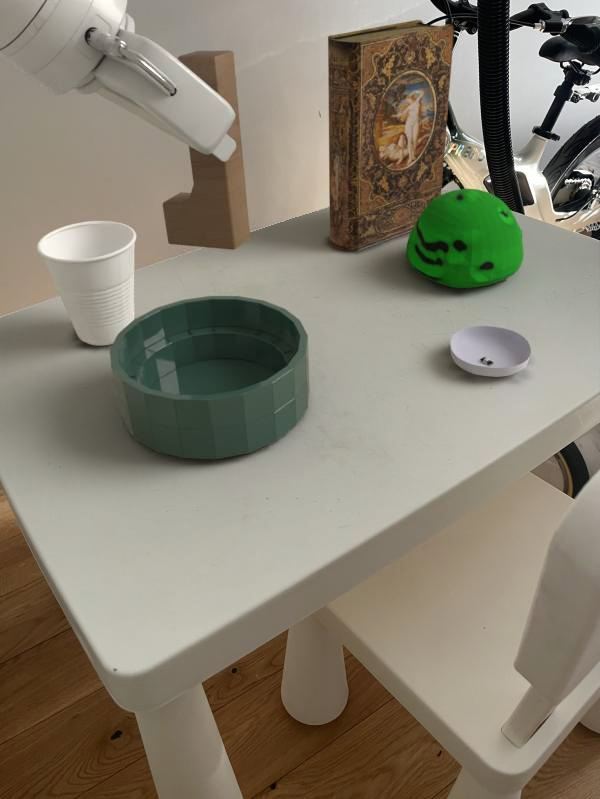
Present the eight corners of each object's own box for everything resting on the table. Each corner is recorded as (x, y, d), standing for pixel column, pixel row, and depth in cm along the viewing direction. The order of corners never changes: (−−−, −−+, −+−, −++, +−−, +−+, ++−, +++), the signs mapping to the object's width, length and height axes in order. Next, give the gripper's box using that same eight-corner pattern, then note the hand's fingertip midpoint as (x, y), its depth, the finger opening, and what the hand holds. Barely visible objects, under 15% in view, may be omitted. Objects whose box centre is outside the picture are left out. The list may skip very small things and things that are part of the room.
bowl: (97, 391, 72) (82, 329, 68) (252, 338, 79) (247, 279, 75) (170, 493, 60) (157, 426, 56) (345, 419, 67) (345, 355, 63)
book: (350, 254, 95) (352, 43, 81) (323, 241, 99) (320, 37, 84) (438, 221, 103) (455, 23, 88) (411, 210, 107) (422, 18, 92)
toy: (386, 262, 93) (390, 185, 87) (468, 238, 98) (476, 164, 92) (455, 306, 83) (464, 222, 78) (542, 277, 89) (556, 196, 83)
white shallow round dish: (489, 394, 70) (492, 378, 68) (431, 358, 75) (432, 342, 74) (546, 366, 73) (549, 350, 72) (486, 333, 78) (488, 317, 77)
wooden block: (251, 238, 64) (234, 50, 57) (235, 250, 62) (214, 55, 54) (185, 232, 67) (160, 51, 59) (167, 244, 64) (138, 56, 56)
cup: (109, 302, 87) (90, 213, 80) (170, 325, 82) (156, 232, 75) (41, 339, 80) (15, 246, 74) (103, 367, 75) (81, 269, 69)
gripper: (152, -2, 42) (302, 140, 52) (47, -31, 56) (180, 85, 66) (92, 93, 43) (251, 216, 52) (3, 41, 57) (141, 145, 67)
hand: (211, 142), depth 59 cm, fingers closed on wooden block, 4 cm apart
